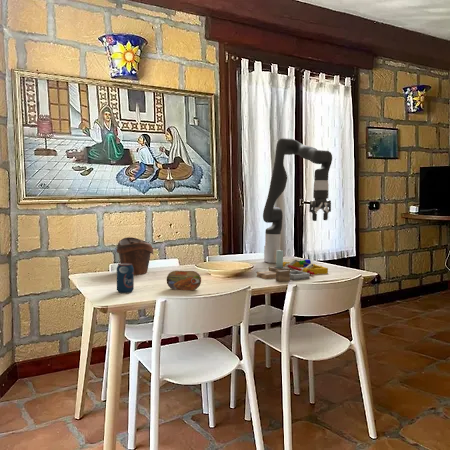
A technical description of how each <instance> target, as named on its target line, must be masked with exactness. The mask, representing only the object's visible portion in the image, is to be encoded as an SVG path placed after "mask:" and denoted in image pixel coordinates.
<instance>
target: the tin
mask: <svg viewBox="0 0 450 450" xmlns="http://www.w3.org/2000/svg"><path fill="white" fill-rule="evenodd" d="M201 283H202V277H201V275H200V273H198V271H195V270H173V271H172V270H171V271H170V272H169V273H168V274H167V276H166V284H167V286H168V288H170V289H171V290H174V291H195V290H197V289H198V288H199V287H200V286H201Z"/></svg>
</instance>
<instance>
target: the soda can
mask: <svg viewBox="0 0 450 450" xmlns="http://www.w3.org/2000/svg"><path fill="white" fill-rule="evenodd" d="M134 276H135V275H134V268H133V266H132V263H121V262H119V263H118V265H117V266H116V290H117V292H118V293H119V294H130V293H133V291H134V288H135V287H134V285H135V282H134V279H135V278H134Z"/></svg>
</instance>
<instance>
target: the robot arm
mask: <svg viewBox="0 0 450 450" xmlns="http://www.w3.org/2000/svg"><path fill="white" fill-rule="evenodd" d="M285 155H287V156H291V155H296V156H297V155H298V156H300V157H301V158H302V159H304V160H307V161H309V162H311V164H312V163H313V164H314V165H315V164H316V165H321V166H320V168H317V169H315V170H314V178H313V179H314V181H313V194H312V195H313V199H314V200H310V201H309V209H308V211H309V213H311V214H312V215H311V216H312V217H311V219H312V221H313V222H315V221H316V222H317V221H318V219H317V218H318V214H317V213H318V211H319V210H322V212H323V214H322V215H323V218H322V219H323V221H328V218H329V213H330V212H332V202H331V200H329V173H330V168H331V166H332V161H333V154H332V152H331V151H330V150H320V149H317V148H315V147H313V146H309V145H305V144H303V143H301V142H299V141H298V140H296V139H294V138H289V137H288V138H287V137H282V138H279V139H278V140H277V143H276V145H275V155H274V163H273V169H272V175H271V179H270V184H269V189H268V195H267V197H266V201H265V204H264V208H263V212H262V219H263V222H265V223H269V224H271V223H272V224H271V225H270V226H269V227H267V228H266V229H265V237H264V239H265V240H264V241H265V242H264V243H265V244H264V249H263V251H264V252H263V256H264V257H263V261H264V262H266V263H269V264H276V251H277V250H281V239H282V238H281V233H282V232H281V231H282V228H283V218H284V217H283V211H282V209H281V208H280V207H279V206H278V207H277V206H275V204H276V202H277V200H278V199H279V198H280V197H281V195H282V194H283V193H284V191H286V190H285V189H286V187H287V182H288V174H287V171H286V167H285V165H284V159H285ZM327 199H328V200H327Z"/></svg>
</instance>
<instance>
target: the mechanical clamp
mask: <svg viewBox="0 0 450 450" xmlns="http://www.w3.org/2000/svg"><path fill="white" fill-rule="evenodd" d="M283 267H287V268H290V270H291V269H292V270H294V271H295V270H298V271H302V272H306V273H310V276H315V275H327V274H328V272H329V268H328V267H326V266H325V267H324V266H323V265H318V264H316V263H312V260H311V259H303V260H297V259H296V258H294V259H292V260H291V261H283Z"/></svg>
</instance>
